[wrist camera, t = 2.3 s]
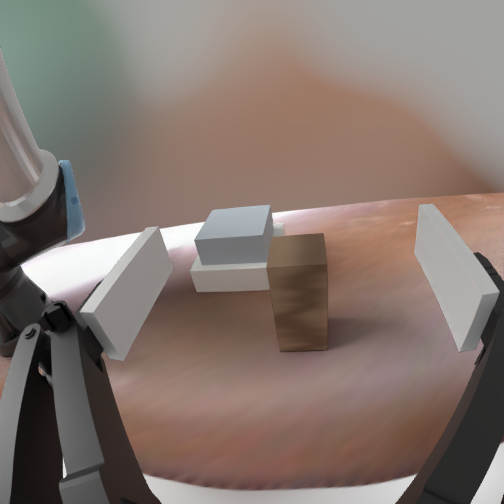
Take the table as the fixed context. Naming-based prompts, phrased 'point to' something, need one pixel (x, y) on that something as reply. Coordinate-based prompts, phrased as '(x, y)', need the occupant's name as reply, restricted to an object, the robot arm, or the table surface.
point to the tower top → (236, 236)
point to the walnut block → (299, 291)
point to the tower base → (233, 273)
